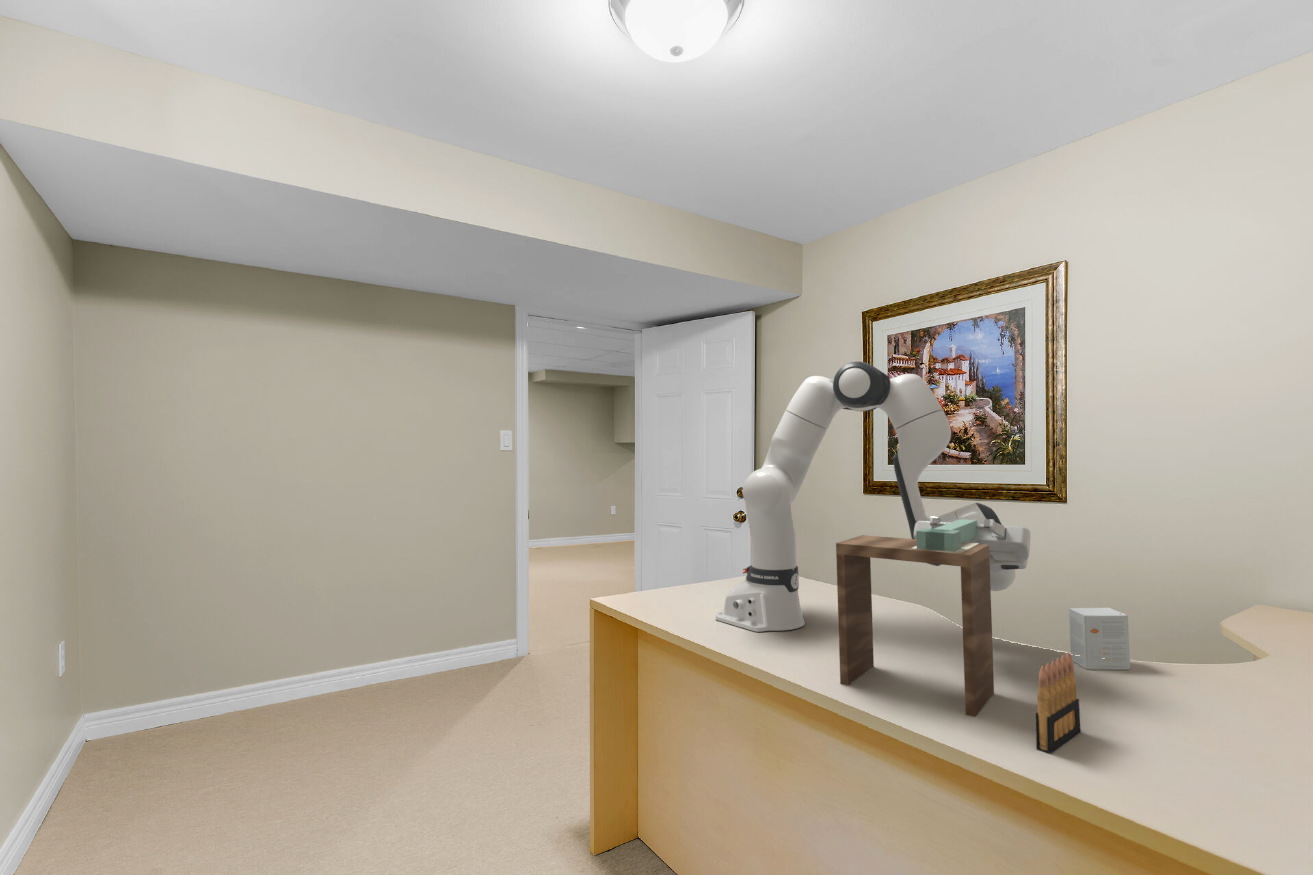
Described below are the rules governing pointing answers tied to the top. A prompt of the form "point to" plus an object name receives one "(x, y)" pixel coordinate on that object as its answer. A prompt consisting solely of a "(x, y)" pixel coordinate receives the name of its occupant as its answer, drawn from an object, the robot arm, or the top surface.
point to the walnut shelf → (859, 607)
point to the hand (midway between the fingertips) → (960, 521)
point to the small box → (1099, 638)
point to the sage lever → (947, 536)
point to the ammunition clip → (1057, 705)
